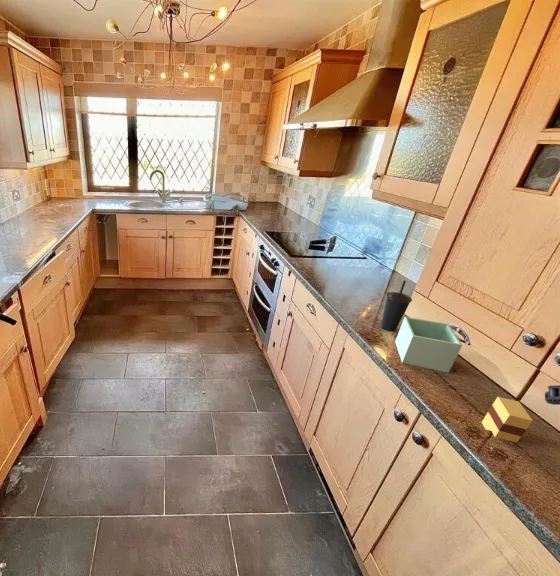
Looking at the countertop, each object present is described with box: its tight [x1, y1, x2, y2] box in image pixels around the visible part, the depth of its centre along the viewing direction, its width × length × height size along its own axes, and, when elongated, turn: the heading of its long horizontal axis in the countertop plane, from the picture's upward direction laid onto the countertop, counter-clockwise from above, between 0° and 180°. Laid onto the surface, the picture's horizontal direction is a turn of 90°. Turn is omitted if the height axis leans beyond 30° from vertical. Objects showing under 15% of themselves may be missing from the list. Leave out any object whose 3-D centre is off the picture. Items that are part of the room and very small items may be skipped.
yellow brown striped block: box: [481, 396, 534, 443], centre depth 74 cm, size 4×6×9 cm
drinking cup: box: [380, 279, 413, 333], centre depth 112 cm, size 8×8×20 cm
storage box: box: [394, 316, 463, 374], centre depth 100 cm, size 12×12×11 cm
